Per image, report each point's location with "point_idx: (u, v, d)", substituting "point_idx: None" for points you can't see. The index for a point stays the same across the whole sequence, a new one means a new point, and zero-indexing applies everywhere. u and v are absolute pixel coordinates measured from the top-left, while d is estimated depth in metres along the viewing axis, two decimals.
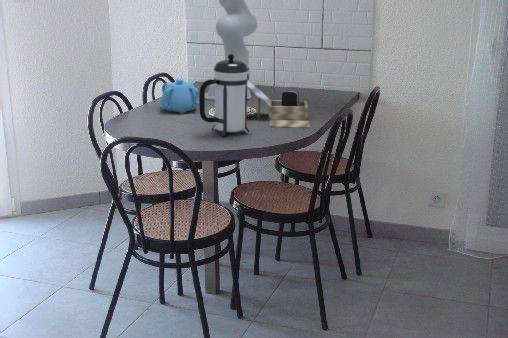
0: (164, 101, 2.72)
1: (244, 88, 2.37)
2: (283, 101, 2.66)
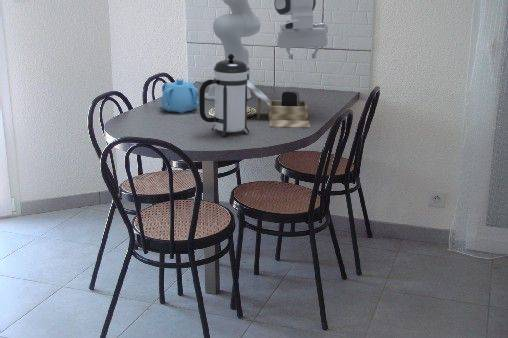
0: (164, 101, 2.72)
1: (244, 88, 2.37)
2: (283, 101, 2.66)
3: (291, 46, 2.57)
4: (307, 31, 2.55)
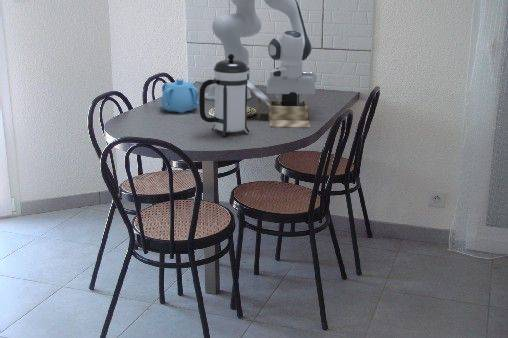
0: (164, 101, 2.72)
1: (244, 88, 2.37)
2: (283, 101, 2.66)
3: (279, 92, 2.64)
4: (295, 79, 2.61)
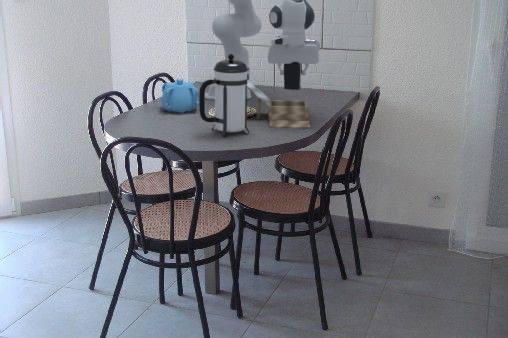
0: (164, 101, 2.72)
1: (244, 88, 2.37)
2: (285, 72, 2.53)
3: (281, 62, 2.51)
4: (297, 47, 2.49)
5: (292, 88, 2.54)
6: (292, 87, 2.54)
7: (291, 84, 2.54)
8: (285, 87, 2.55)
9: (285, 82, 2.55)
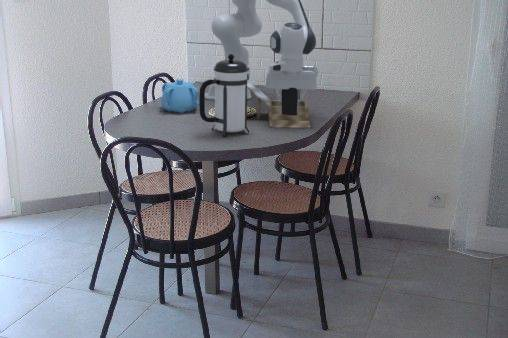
0: (164, 101, 2.72)
1: (244, 88, 2.37)
2: (283, 97, 2.54)
3: (278, 88, 2.52)
4: (295, 74, 2.49)
5: (289, 114, 2.55)
6: (289, 113, 2.55)
7: (288, 110, 2.54)
8: (282, 113, 2.56)
9: (283, 107, 2.55)
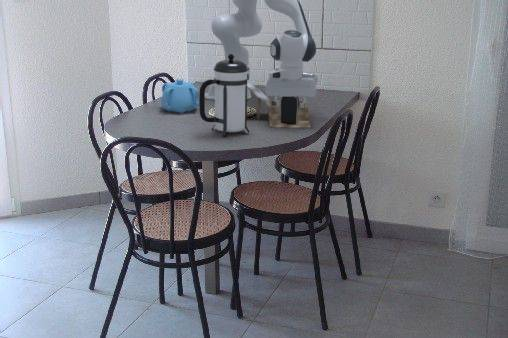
0: (164, 101, 2.72)
1: (244, 88, 2.37)
2: (282, 106, 2.55)
3: (278, 95, 2.53)
4: (295, 81, 2.50)
5: (288, 122, 2.56)
6: (289, 121, 2.56)
7: (288, 118, 2.56)
8: (281, 121, 2.57)
9: (282, 116, 2.56)
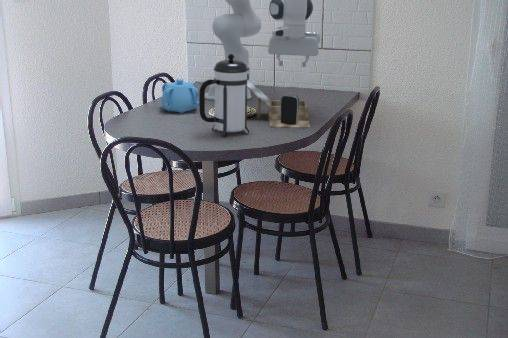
0: (164, 101, 2.72)
1: (244, 88, 2.37)
2: (282, 106, 2.55)
3: (281, 53, 2.55)
4: (297, 40, 2.52)
5: (288, 122, 2.56)
6: (289, 121, 2.56)
7: (288, 118, 2.56)
8: (281, 121, 2.57)
9: (282, 116, 2.56)
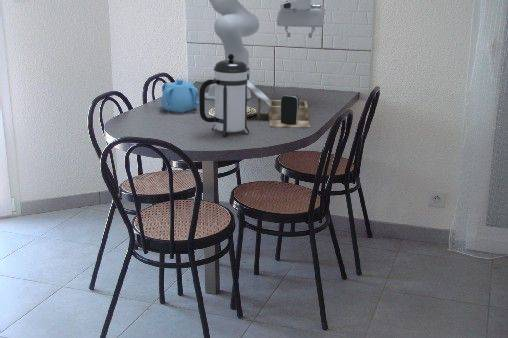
0: (164, 101, 2.72)
1: (244, 88, 2.37)
2: (282, 106, 2.55)
3: (288, 25, 2.74)
4: (304, 11, 2.71)
5: (288, 122, 2.56)
6: (289, 121, 2.56)
7: (288, 118, 2.56)
8: (281, 121, 2.57)
9: (282, 116, 2.56)
